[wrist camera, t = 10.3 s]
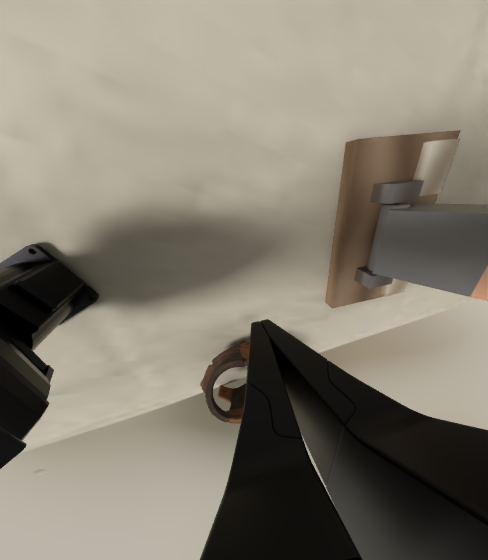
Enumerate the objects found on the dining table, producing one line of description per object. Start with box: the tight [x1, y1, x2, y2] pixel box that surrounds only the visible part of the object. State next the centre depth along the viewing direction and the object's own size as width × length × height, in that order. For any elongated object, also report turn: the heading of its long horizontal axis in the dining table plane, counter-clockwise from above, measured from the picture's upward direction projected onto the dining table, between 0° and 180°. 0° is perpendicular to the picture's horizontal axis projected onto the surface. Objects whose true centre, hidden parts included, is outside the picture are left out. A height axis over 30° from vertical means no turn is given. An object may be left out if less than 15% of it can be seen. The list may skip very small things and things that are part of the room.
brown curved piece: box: [200, 342, 250, 423], centre depth 26 cm, size 12×10×8 cm
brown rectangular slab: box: [325, 130, 460, 308], centre depth 21 cm, size 11×18×4 cm, turn 6°
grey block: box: [367, 203, 488, 301], centre depth 17 cm, size 4×7×10 cm
